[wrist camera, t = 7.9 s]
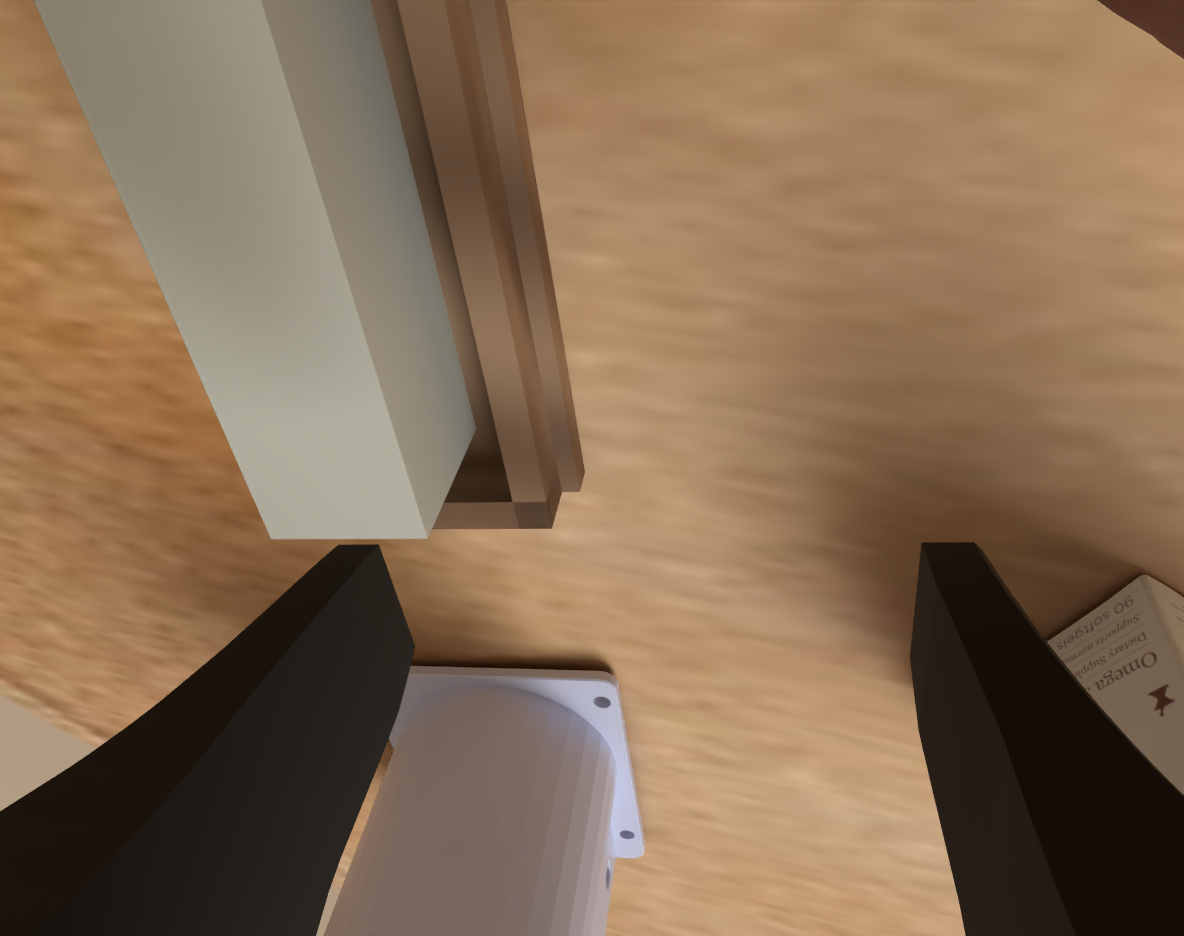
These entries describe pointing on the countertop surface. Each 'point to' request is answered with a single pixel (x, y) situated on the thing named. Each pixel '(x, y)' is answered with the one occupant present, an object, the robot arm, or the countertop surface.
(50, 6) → the grey rectangular block
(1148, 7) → the wafer roll
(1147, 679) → the supplement box
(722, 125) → the countertop surface
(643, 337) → the countertop surface
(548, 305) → the tray
